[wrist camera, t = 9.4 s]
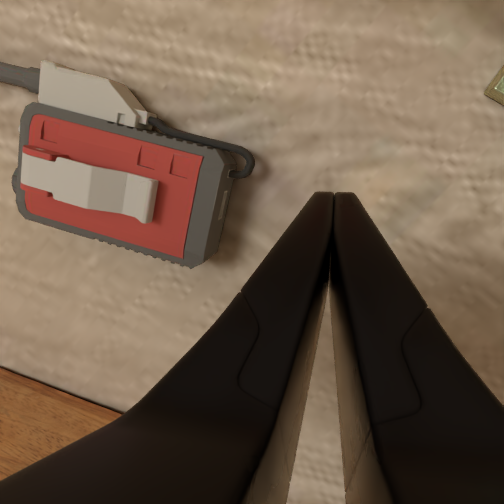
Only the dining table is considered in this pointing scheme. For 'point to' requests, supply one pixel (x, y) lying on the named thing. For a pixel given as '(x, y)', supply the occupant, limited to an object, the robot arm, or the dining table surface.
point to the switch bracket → (497, 87)
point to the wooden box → (41, 421)
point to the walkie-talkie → (118, 168)
